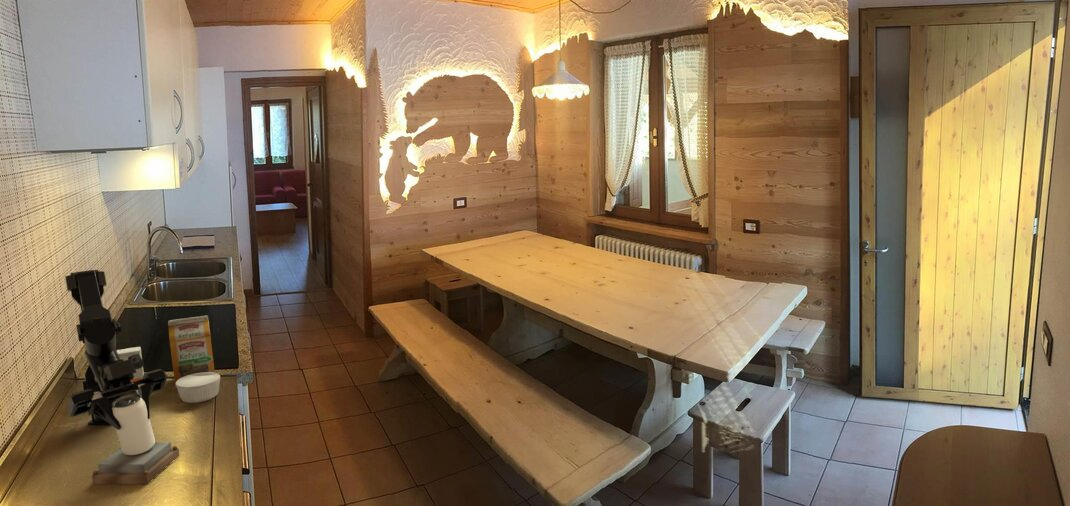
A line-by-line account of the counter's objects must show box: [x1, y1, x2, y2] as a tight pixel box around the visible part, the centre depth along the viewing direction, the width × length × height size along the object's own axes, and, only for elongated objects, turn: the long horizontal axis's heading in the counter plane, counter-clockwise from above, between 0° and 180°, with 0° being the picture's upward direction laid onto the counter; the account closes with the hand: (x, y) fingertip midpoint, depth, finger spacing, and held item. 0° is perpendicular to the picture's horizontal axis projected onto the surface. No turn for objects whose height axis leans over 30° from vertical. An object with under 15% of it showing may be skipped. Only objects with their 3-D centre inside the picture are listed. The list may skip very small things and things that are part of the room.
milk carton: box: [167, 315, 216, 387], centre depth 200 cm, size 11×11×19 cm
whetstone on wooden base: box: [91, 441, 180, 485], centre depth 149 cm, size 12×12×4 cm
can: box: [112, 393, 156, 456], centre depth 148 cm, size 6×6×12 cm
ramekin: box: [175, 372, 221, 404], centre depth 188 cm, size 11×11×5 cm
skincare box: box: [116, 346, 145, 392], centre depth 193 cm, size 6×4×12 cm
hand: (134, 423), depth 146 cm, fingers closed on can, 5 cm apart
